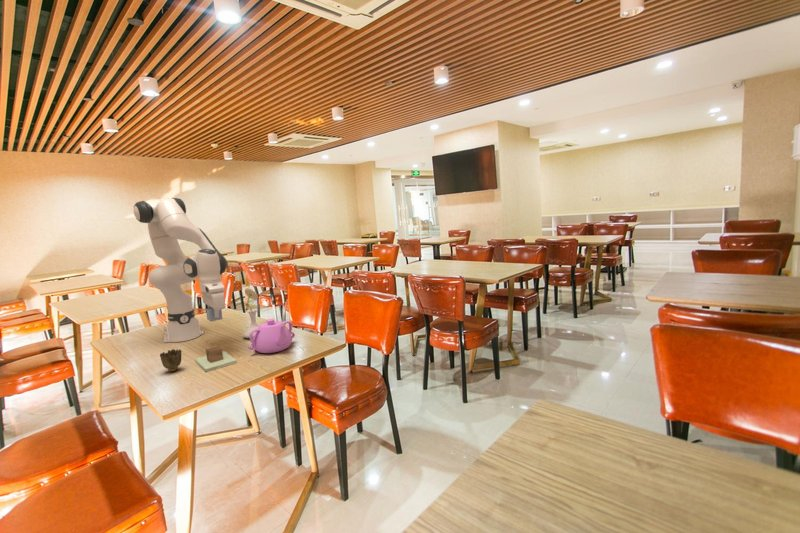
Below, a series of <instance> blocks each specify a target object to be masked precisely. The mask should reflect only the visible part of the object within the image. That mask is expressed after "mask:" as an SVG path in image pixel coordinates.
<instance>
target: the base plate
mask: <svg viewBox="0 0 800 533" xmlns="http://www.w3.org/2000/svg"><path fill="white" fill-rule="evenodd" d="M222 353H223V360H219V361H216V362H212V363H210V362H209V361H208V360H207V355H204V356H202V357H197V358H194V362H195V364H197V365H198V366H199V367H200V368H201V369H202V370H203V371H204V372H205V373H209V372H211V371H215V370H218V369H221V368H224V367H228V366H231V365H235V364H237V363H238V362H237V359H236V358H235V357H233V356H232V355H230V354H229V353H228V352H226V351H225V350H222Z"/></svg>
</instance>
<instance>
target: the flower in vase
mask: <svg viewBox="0 0 800 533" xmlns="http://www.w3.org/2000/svg"><path fill="white" fill-rule="evenodd" d="M243 292H244V294H245V295H246V296H247V297H248V300H247V301H248V302H245V305H244V306H246V307H248V308H250V309H248V310H246V313H248V315H249V317H250V322H251V323H250V326H248V328H246V330H244V332H243V333H242V337H243V338H246V339H250V337H249V334H250V332H251V331H252V330H254V329H258V327H259V326H260V325H258V323H257V318H256V315H257V312H258V309H257V308H253V309H252V307H255V304H254V305H251V306H250V299H251V300H254V301H256V300H258V299H259V295H258V294H257V293H256V291H254V290H253V289H252V288H248V287H246V288H245V289H244V291H243ZM255 333H256V332H254V333H253V335H252V336H253V338H254V335H255Z"/></svg>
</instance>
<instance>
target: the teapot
mask: <svg viewBox="0 0 800 533" xmlns="http://www.w3.org/2000/svg"><path fill="white" fill-rule="evenodd" d="M286 324H288V326H289V327H287V325H286ZM292 331H293V322H291V321H290V320H284V321H281V320H275V319H274V318H269V319H268V318H267V320H266V322H263V323H261V324H260V325H259V327H258V329H254V330H252V331H251V332H250V334H249V337H250V338H249V339H250V342H251V343H249V345H248V350H250V351H254V350H255V351H257V353H260V354H261V353H262V354H272V353H273V354H274V353H277V352H281V351H284V350H286V349H287V348H289V347H290V346H291V344H292V343H293V338H294V337H295V335H296V334H295V333H294V332H292ZM254 332H256V333H255V335H254V338H253V336H252V335H253V333H254Z"/></svg>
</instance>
